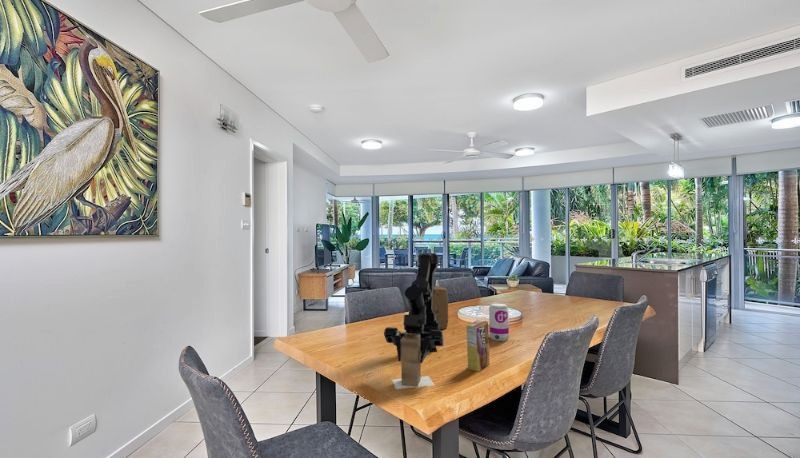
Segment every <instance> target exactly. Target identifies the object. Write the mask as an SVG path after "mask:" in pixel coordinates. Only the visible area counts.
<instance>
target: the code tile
mask: <svg viewBox="0 0 800 458" xmlns="http://www.w3.org/2000/svg"><path fill="white" fill-rule="evenodd" d="M391 381H392V384H393V385H394V389H396V390H401V389H409V388H410V389H411V388H412V389H413V388H421V387H432V386H433V387H434V386H435V383H434V382H433V380H432V379H431V378H430V376H428V375H425V376H424V375H423V376H421V380H420V382H419V385H418V387H417V386H407V385H402V378H395V379H394V378H393V379H391Z"/></svg>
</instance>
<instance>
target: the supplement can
mask: <svg viewBox="0 0 800 458" xmlns="http://www.w3.org/2000/svg"><path fill="white" fill-rule="evenodd" d="M488 312H489V313H488V315H489V317H488V335H489V338H490V339H491V340H492V339H493V340H492V341H496V342H504V341H508V339H509V338H510V336H509V335H510V333H509V329H510V327H509V326H510V323H509V307H508V305H507V304H505V303H497V302H496V303H490V305H489V307H488Z"/></svg>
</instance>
